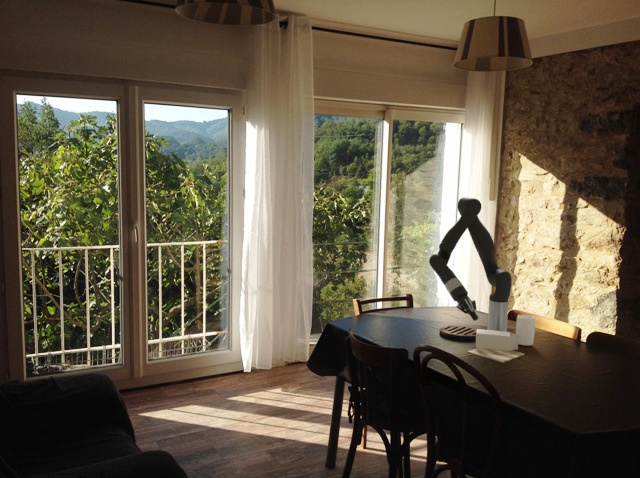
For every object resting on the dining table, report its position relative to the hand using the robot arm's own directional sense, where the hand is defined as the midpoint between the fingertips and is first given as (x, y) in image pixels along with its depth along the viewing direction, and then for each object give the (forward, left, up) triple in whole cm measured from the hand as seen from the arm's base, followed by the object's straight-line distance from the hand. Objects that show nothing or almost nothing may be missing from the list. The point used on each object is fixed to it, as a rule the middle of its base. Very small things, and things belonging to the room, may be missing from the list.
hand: (476, 319), depth 262 cm
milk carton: (-2, -1, -9) cm, 10 cm away
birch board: (-1, +11, -14) cm, 17 cm away
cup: (-24, +11, -14) cm, 30 cm away
